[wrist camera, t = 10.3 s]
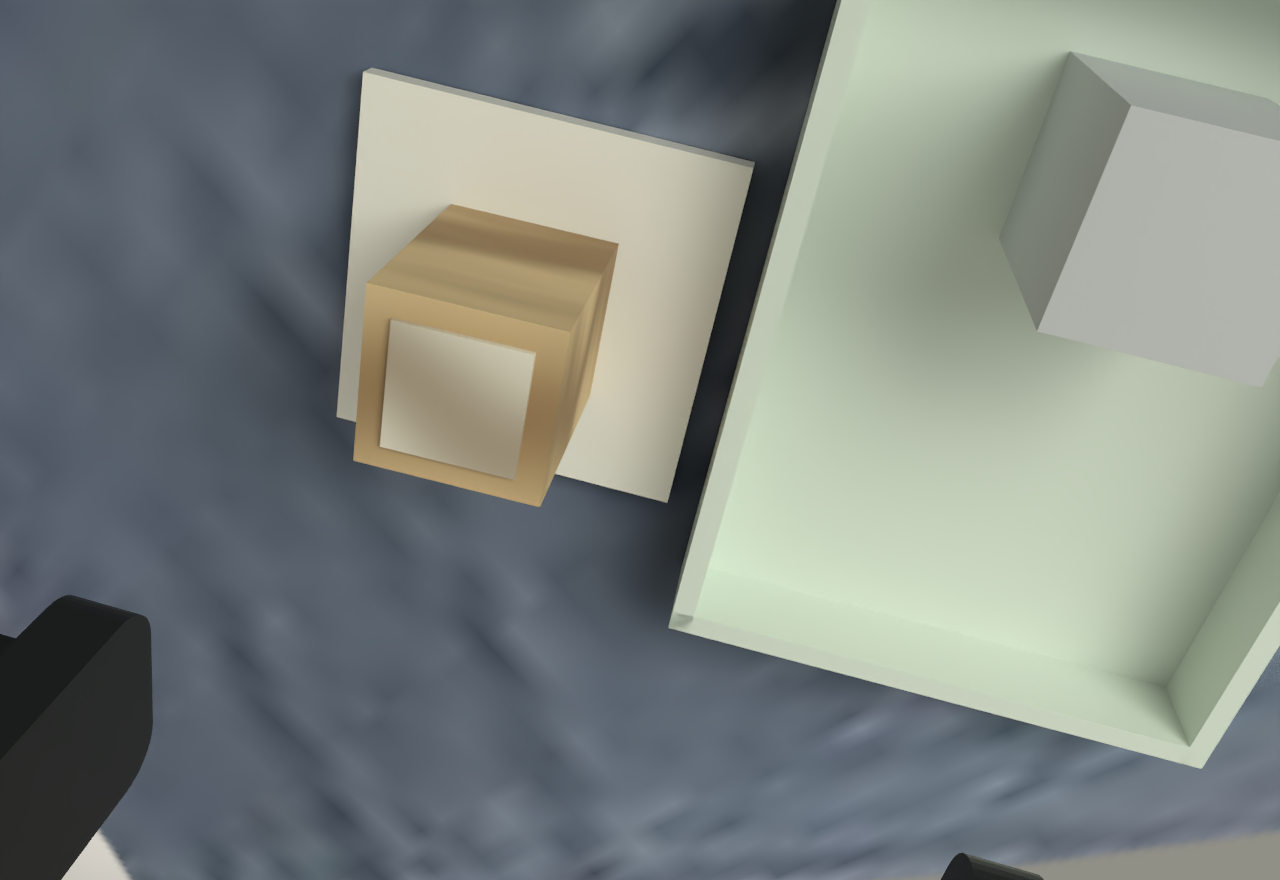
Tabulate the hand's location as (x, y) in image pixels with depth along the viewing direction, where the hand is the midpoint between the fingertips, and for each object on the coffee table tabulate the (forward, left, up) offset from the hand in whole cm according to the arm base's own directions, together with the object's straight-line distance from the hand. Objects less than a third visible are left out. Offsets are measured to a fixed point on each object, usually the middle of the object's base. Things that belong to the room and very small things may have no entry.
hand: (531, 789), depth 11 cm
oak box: (+4, -5, -20) cm, 20 cm away
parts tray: (+1, +9, -20) cm, 22 cm away
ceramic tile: (+4, -4, -20) cm, 21 cm away
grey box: (-3, +9, -20) cm, 22 cm away
